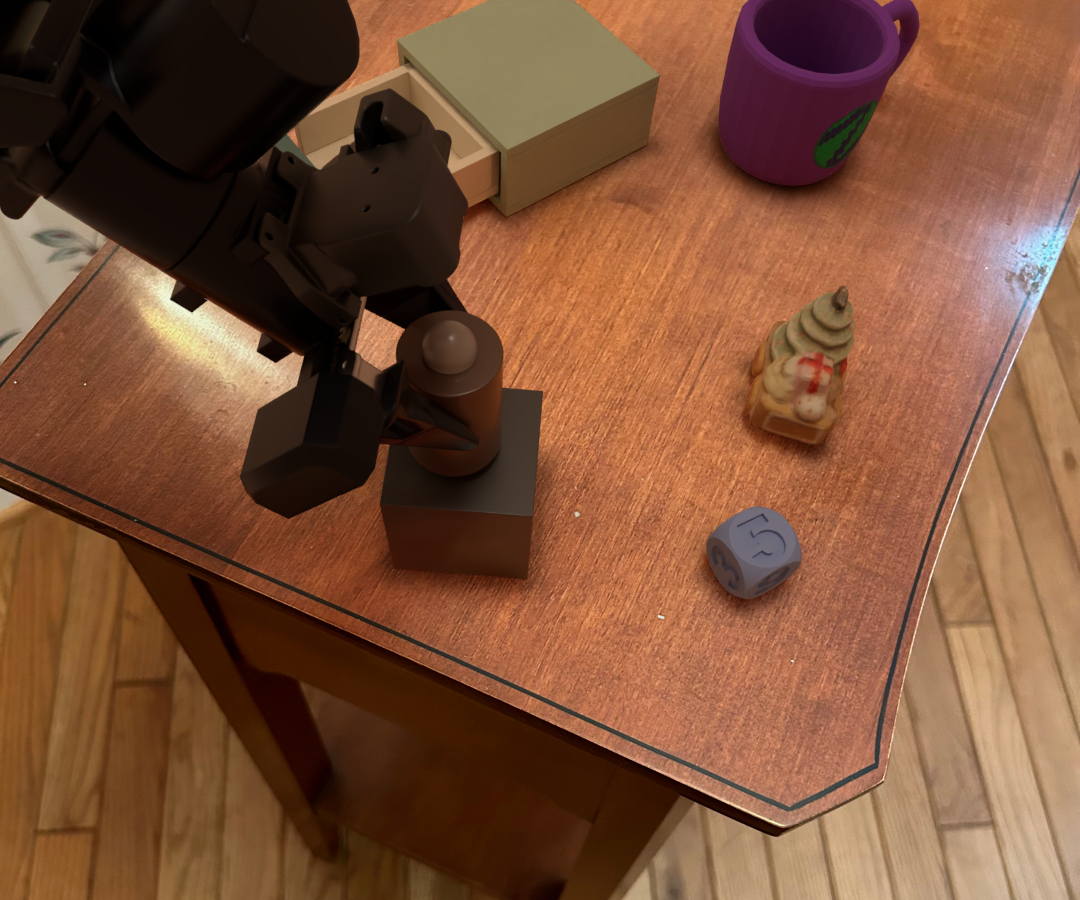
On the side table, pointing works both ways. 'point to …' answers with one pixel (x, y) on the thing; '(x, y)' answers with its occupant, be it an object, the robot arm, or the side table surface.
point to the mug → (808, 82)
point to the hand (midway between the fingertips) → (479, 400)
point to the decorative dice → (753, 552)
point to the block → (468, 503)
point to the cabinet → (538, 90)
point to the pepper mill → (457, 383)
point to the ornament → (803, 370)
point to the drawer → (470, 148)
